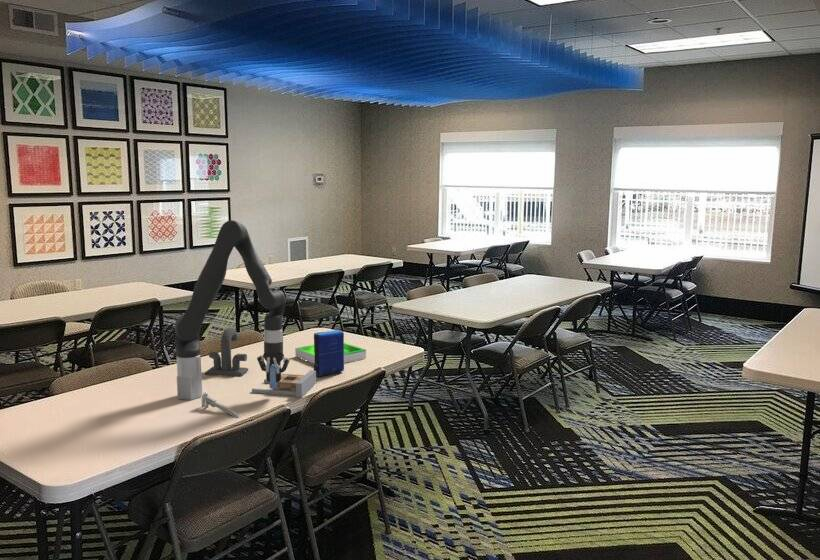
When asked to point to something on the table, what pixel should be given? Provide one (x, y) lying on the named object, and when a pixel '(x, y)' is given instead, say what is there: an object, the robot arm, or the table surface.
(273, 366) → the dowel
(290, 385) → the socket block
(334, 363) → the book
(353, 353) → the tray
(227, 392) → the table surface
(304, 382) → the backstop
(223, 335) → the faucet
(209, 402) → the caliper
